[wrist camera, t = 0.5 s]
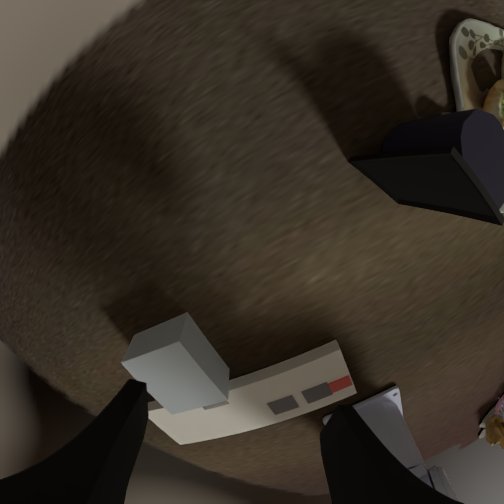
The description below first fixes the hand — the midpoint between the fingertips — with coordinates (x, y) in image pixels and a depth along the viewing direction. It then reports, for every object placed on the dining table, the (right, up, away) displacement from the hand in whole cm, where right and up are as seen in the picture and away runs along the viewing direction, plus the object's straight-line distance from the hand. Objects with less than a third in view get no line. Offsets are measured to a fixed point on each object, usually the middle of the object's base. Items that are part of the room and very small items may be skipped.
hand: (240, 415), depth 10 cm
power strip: (0, -7, +13) cm, 15 cm away
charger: (-5, -2, +12) cm, 13 cm away
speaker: (+10, +12, +7) cm, 17 cm away
